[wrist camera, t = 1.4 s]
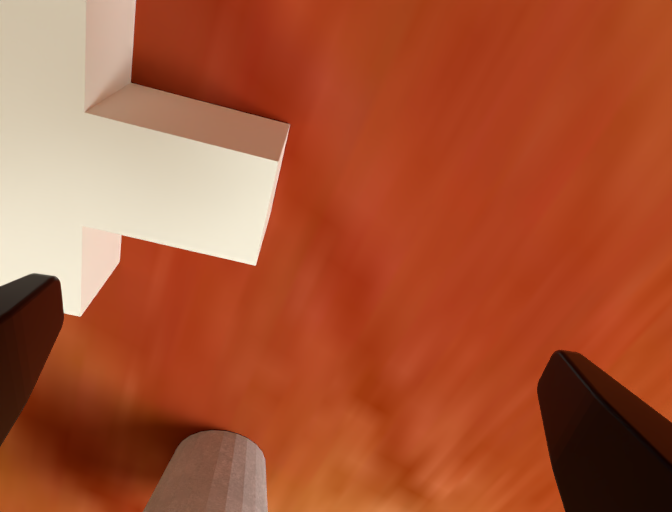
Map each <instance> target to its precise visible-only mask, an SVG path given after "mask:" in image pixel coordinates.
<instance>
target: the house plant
mask: <svg viewBox="0 0 672 512" xmlns="http://www.w3.org/2000/svg"><path fill="white" fill-rule="evenodd" d="M143 512H268V509H267V487H266V466H265V458H264V455H263V453H262V451H261V450H260V449H259V447H258V446H257V445H256V444H255V443H253V442H252V441H251V440H249V439H248V438H246V437H243V436H241V435H239V434H236V433H232V432H228V431H219V430H210V431H202V432H198V433H196V434H193V435H190V436H189V437H187V438H186V439H184V440H183V441H182V442H181V443H180V444H179V446H178V447H177V449H176V451H175V452H174V454H173V456H172V458H171V460H170V462H169V464H168V466H167V467H166V469H165V471H164V473H163V475H162V477H161V479H160V481H159V483H158V484H157V486H156V488H155V490H154V492H153V494H152V496H151V498H150V500H149V501H148V503H147V505H146V507H145V509H144V511H143Z"/></svg>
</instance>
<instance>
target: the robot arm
mask: <svg viewBox="0 0 672 512" xmlns="http://www.w3.org/2000/svg"><path fill="white" fill-rule="evenodd" d="M63 320H64V310H63V300H62V290H61V283H60V280H59V279H58V278H57V277H56V276H52V275H45V274H38V273H32V274H29V275H26V276H24V277H21V278H19V279H17V280H14V281H12V282H9V283H7V284H4V285H2V286H0V446H1V444H2V443H3V441H4V439H5V438H6V436H7V435H8V433H9V431H10V430H11V428H12V426H13V425H14V423H15V421H16V420H17V418H18V417H19V415H20V413H21V411H22V410H23V408H24V406H25V404H26V403H27V401H28V399H29V397H30V395H31V393H32V391H33V389H34V386H35V384H36V382H37V380H38V378H39V376H40V373H41V371H42V369H43V367H44V365H45V362H46V360H47V358H48V356H49V354H50V352H51V349H52V347H53V345H54V343H55V341H56V339H57V336H58V334H59V332H60V330H61V328H62V324H63ZM537 394H538V400H539V405H540V410H541V415H542V420H543V425H544V430H545V436H546V441H547V446H548V451H549V456H550V460H551V465H552V469H553V472H554V476H555V480H556V483H557V486H558V489H559V493H560V496H561V499H562V502H563V506H564V509H565V512H672V423H671V422H670V421H669V420H667V419H666V418H665V417H663V416H662V415H661V414H659V413H658V412H657V411H655V410H654V409H653V408H652V407H650V406H649V405H648V404H646V403H645V402H644V401H642V400H641V399H640V398H638V397H637V396H636V395H634V394H633V393H632V392H630V391H629V390H628V389H626V388H625V387H624V386H622V385H621V384H620V383H618V382H617V381H616V380H615V379H613V378H612V377H611V376H609V375H608V374H607V373H605V372H604V371H603V370H601V369H600V368H599V367H597V366H596V365H595V364H593V363H592V362H591V361H589V360H588V359H587V358H585V357H584V356H583V355H581V354H580V353H577V352H572V351H565V350H557V351H555V352H554V353H553V354H552V356H551V358H550V360H549V362H548V364H547V366H546V368H545V370H544V372H543V374H542V376H541V377H540V379H539V382H538V387H537Z"/></svg>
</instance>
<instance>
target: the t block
mask: <svg viewBox="0 0 672 512" xmlns="http://www.w3.org/2000/svg"><path fill="white" fill-rule="evenodd" d="M135 7H136V0H0V286H2V285H4V284H7V283H9V282H12V281H14V280H17V279H19V278H21V277H24V276H26V275H29V274H32V273H38V274H45V275H52V276H56V277H57V278H58V279H59V280H60V283H61V290H62V300H63V310H64V313H66V314H70V315H75V316H80V317H81V315H82V314H83V313H84V311H85V310H86V308H87V307H88V306H89V304H90V303H91V301H92V300H93V299H94V297H95V296H96V294H97V293H98V291H99V290H100V289H101V287H102V286H103V284H104V283H105V282H106V280H107V279H108V277H109V276H110V275H111V273H112V272H113V270H114V269H115V268H116V266H117V265H118V263H119V262H120V249H121V235H124V236H129V237H133V238H137V239H142V240H146V241H151V242H155V243H159V244H164V245H168V246H172V247H177V248H181V249H185V250H190V251H194V252H198V253H203V254H207V255H212V256H216V257H220V258H225V259H229V260H233V261H238V262H242V263H246V264H251V265H255V266H256V263H257V259H258V256H259V252H260V249H261V245H262V242H263V238H264V234H265V231H266V227H267V224H268V220H269V217H270V213H271V208H272V204H273V199H274V195H275V190H276V186H277V181H278V177H279V172H280V168H281V163H282V159H283V154H284V149H285V145H286V140H287V136H288V131H289V127H290V124H287V123H283V122H279V121H275V120H271V119H268V118H264V117H260V116H256V115H252V114H249V113H245V112H241V111H237V110H233V109H230V108H226V107H222V106H218V105H214V104H210V103H207V102H203V101H199V100H195V99H191V98H188V97H184V96H180V95H176V94H172V93H169V92H165V91H161V90H157V89H153V88H150V87H146V86H142V85H138V84H134V83H131V72H132V56H133V40H134V24H135Z"/></svg>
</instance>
